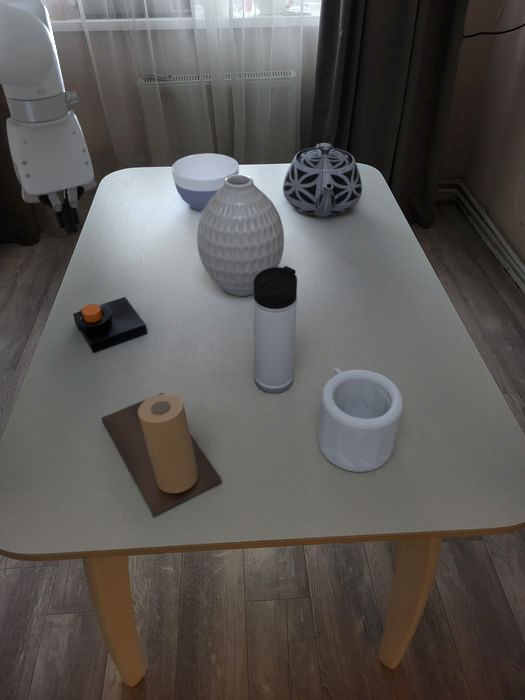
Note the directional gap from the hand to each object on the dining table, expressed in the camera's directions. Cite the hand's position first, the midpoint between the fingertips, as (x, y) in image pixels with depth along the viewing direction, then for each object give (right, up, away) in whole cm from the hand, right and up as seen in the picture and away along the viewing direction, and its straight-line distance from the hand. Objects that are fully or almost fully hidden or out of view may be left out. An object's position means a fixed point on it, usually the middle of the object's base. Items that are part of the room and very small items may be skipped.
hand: (70, 229), depth 86 cm
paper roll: (+16, -30, -13) cm, 36 cm away
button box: (+2, -15, +15) cm, 21 cm away
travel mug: (+32, -24, +5) cm, 40 cm away
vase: (+26, -6, +25) cm, 36 cm away
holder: (+15, -33, -7) cm, 37 cm away
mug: (+43, -31, -5) cm, 53 cm away
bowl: (+16, +18, +52) cm, 58 cm away
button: (0, -13, +11) cm, 17 cm away
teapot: (+44, +16, +51) cm, 69 cm away
